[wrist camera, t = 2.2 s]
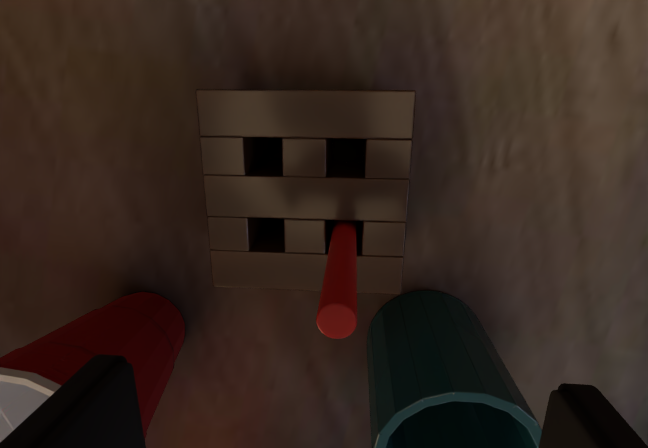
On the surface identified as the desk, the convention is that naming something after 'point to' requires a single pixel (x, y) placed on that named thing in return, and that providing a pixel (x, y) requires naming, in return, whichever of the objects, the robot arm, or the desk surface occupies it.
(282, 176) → the straw stand
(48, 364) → the plastic cup
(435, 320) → the tumbler
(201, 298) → the desk surface
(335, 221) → the straw
